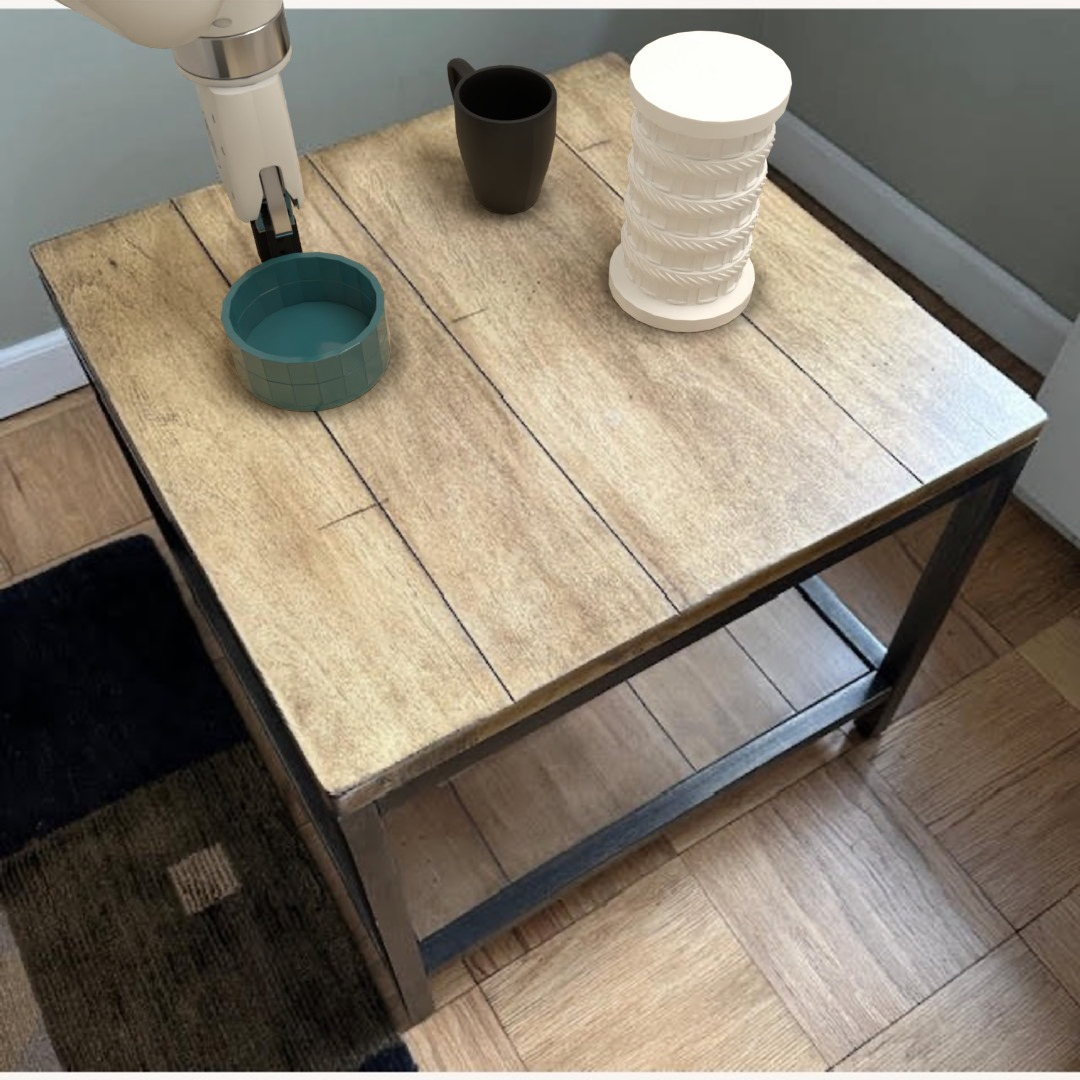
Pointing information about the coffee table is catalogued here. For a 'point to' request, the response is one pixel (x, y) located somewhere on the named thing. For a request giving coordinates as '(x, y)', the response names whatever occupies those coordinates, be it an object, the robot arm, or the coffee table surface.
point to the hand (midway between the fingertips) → (281, 259)
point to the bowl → (307, 330)
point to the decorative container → (696, 177)
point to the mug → (503, 131)
